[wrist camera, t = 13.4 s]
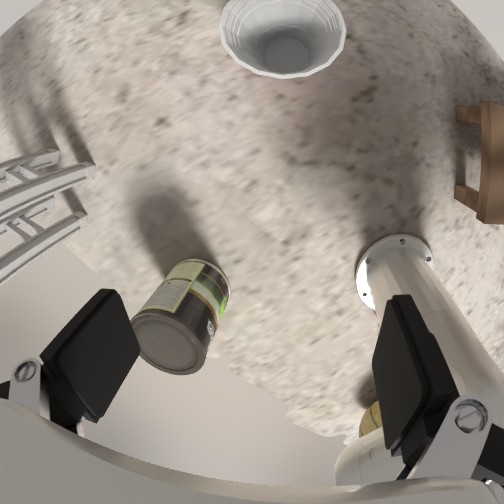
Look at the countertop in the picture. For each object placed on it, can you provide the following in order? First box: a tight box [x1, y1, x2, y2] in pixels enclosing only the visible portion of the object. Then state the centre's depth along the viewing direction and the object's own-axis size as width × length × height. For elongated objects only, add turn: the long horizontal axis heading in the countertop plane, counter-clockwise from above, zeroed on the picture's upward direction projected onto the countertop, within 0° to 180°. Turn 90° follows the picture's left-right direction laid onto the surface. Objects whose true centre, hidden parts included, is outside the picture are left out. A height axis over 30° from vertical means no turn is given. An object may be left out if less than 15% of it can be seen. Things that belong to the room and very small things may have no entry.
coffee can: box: [130, 259, 230, 375], centre depth 38 cm, size 10×10×14 cm
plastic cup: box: [218, 0, 347, 79], centre depth 22 cm, size 11×11×12 cm
